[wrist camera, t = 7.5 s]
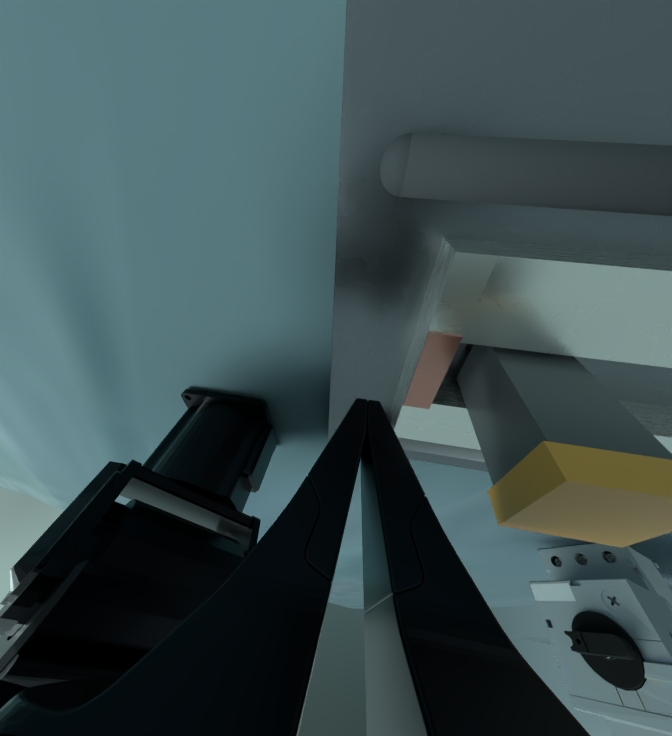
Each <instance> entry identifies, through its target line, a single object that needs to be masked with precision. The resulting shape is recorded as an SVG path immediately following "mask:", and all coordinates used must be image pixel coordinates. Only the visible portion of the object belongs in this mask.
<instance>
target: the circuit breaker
mask: <svg viewBox="0 0 672 736" xmlns="http://www.w3.org/2000/svg"><path fill="white" fill-rule="evenodd" d="M538 553H539V555H540V558H541V560H542V563H543V565H544V568H545V570H546V571H547V572H548V573H550V575H551V578H549V580H550V581H530V582H529V583H530V585H531V588H532V591H533V594H534V597H535V600H536V602H537V605H538V608H539V611H540V614H541V617H542V619H543V622H544V625H545V628H546V631H547V634H548V636H549V639H550V642H551V645H552V648H553V650H554V654H555V656H556V659H557V662H558V665H559V668H560V671H561V673H562V676H563V679H564V682H565V685H566V688H567V691H568V693H569V695H570V698H571V701H572V704H573V707H574V709H575V710H578V711H582V712H586V713H590V714H594V715H598V716H602V717H605V719H606V721H607V724H608V726H609V729H610V731H611V734H612V736H672V585H671V584H670V583H669V582H668V581H666V580H664V579H663V577H662V576H661V575H660V573H659V572H658V570H657V569H656V568H659V566H658V565H657V564H656V563H655V562H652V561H651V560H650V559H648V558H647V557H645V556H643V555H642V554H640V553H638V552H637V551H635V550H634V549H632V548H630V547H629V546H626V547H623V548H621V547H616V546H610V545H604V544H599V543H590V544H581V545H572V546H563V547H554V548H546V549H538Z"/></svg>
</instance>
